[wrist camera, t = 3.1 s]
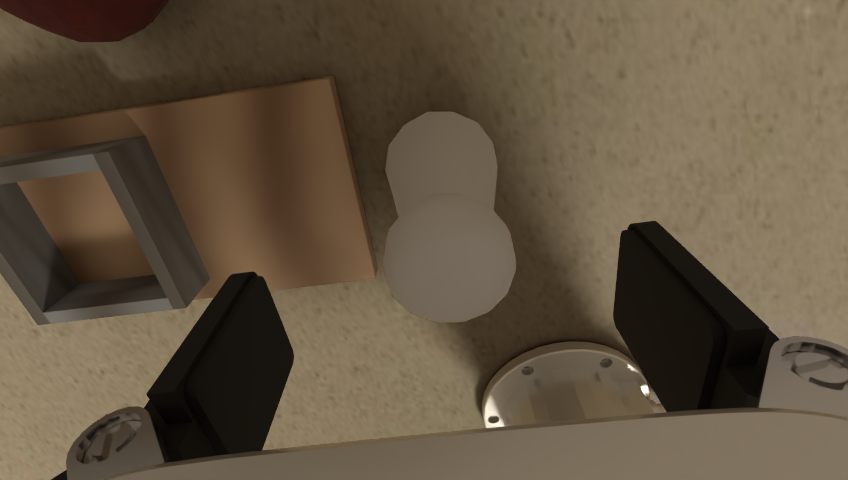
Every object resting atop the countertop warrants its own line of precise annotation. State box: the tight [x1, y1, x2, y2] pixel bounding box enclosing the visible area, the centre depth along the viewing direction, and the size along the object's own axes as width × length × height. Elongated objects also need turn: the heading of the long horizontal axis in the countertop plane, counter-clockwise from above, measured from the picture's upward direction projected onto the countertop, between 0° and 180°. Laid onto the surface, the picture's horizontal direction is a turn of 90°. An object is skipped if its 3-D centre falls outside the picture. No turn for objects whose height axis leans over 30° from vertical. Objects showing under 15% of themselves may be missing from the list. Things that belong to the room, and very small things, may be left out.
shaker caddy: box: [0, 76, 378, 325], centre depth 24 cm, size 20×12×4 cm, turn 98°
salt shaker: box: [383, 112, 516, 323], centre depth 19 cm, size 6×6×13 cm
